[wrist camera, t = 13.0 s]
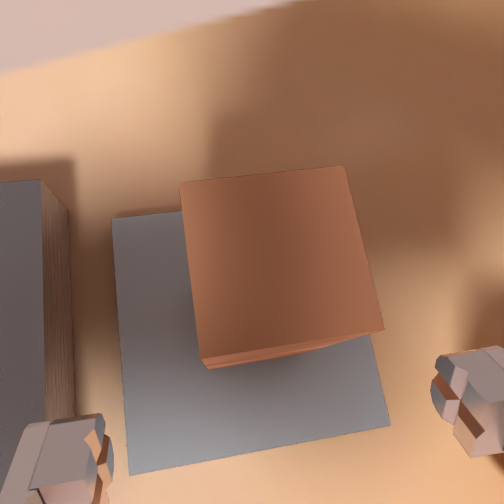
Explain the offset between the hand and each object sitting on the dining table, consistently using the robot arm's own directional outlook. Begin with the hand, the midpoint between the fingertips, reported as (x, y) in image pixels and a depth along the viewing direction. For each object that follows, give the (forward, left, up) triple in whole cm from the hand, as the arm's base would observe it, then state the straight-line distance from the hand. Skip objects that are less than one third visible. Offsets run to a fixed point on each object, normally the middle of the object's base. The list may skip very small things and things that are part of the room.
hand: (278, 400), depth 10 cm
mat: (0, -3, -7) cm, 8 cm away
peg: (0, -3, -6) cm, 7 cm away
